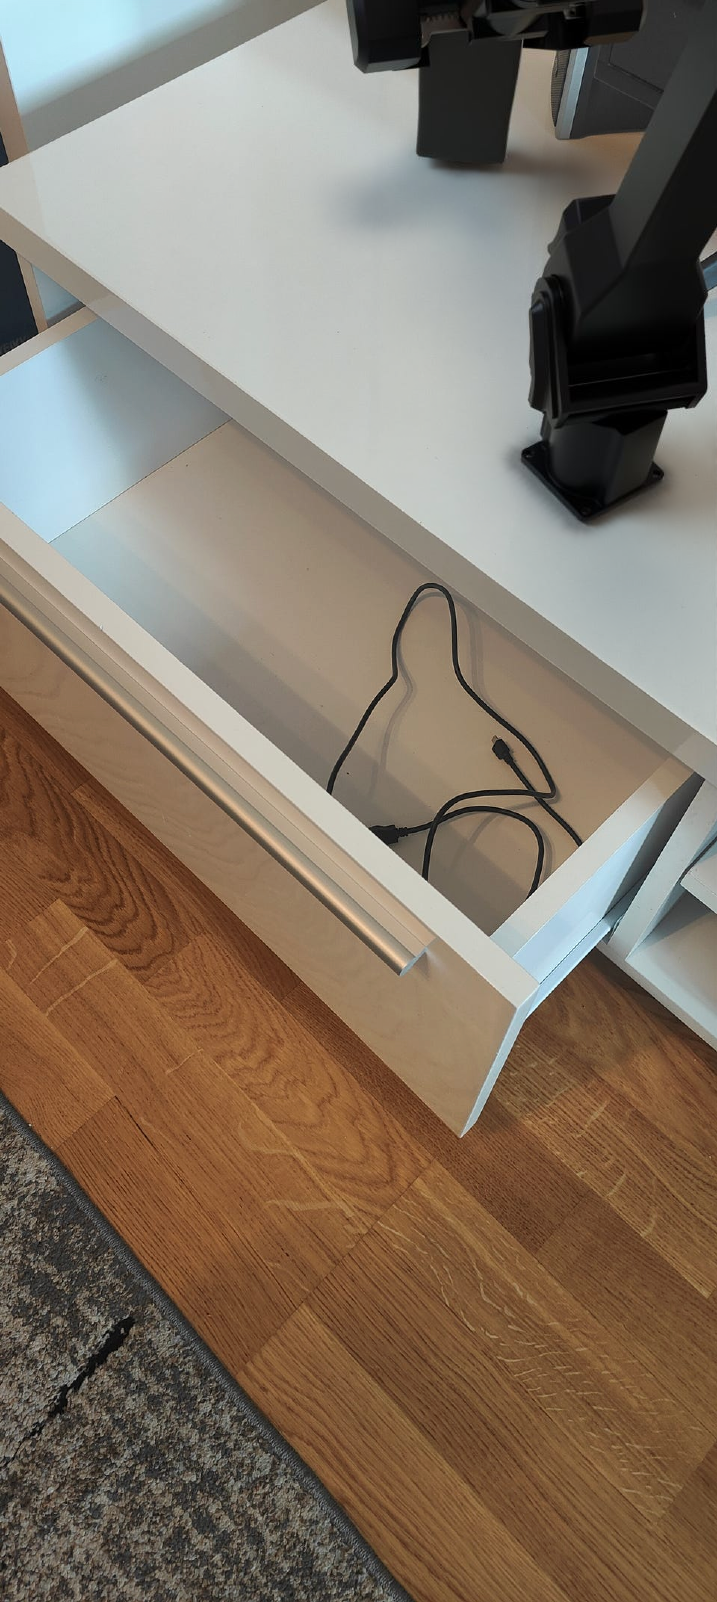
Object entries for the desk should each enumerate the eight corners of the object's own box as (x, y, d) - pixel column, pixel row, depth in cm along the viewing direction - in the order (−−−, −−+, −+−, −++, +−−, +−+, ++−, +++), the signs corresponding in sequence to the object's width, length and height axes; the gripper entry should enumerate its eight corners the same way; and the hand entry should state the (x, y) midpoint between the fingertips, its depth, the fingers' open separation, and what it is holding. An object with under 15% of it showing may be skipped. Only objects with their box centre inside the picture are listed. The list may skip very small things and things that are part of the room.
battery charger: (510, 137, 84) (532, -36, 74) (507, 168, 82) (529, -5, 72) (417, 129, 84) (427, -44, 74) (412, 160, 83) (421, -14, 73)
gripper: (678, -247, 62) (581, -107, 77) (347, -216, 60) (313, -78, 75) (691, -13, 65) (595, 78, 80) (377, 24, 63) (339, 110, 78)
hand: (463, 44), depth 78 cm, fingers closed on battery charger, 7 cm apart
